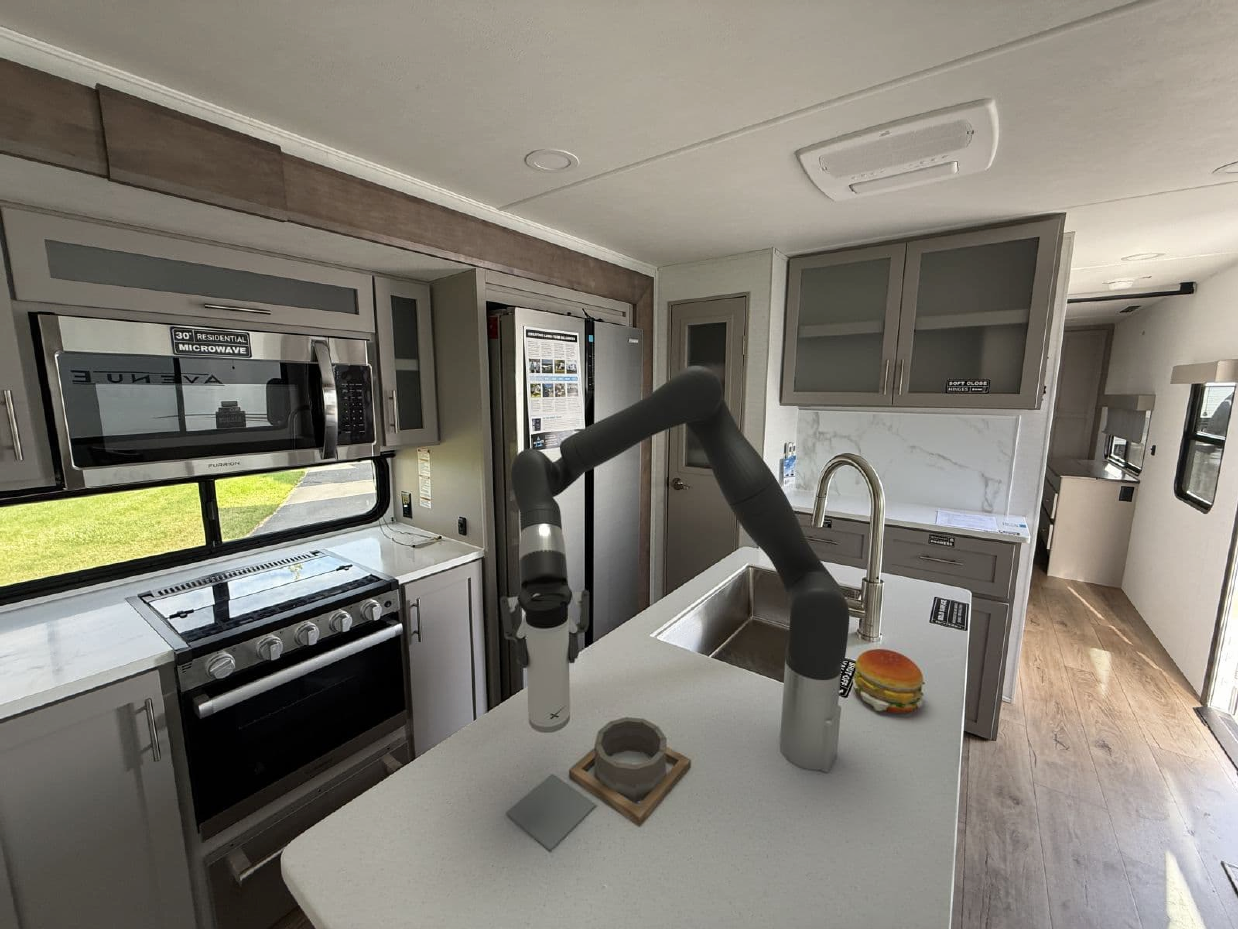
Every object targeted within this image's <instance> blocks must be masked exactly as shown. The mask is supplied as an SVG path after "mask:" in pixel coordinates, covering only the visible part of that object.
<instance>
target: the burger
mask: <svg viewBox="0 0 1238 929" xmlns="http://www.w3.org/2000/svg"><path fill="white" fill-rule="evenodd" d="M853 669H855V671H854V675H853V677H852V687H853V688H854V690H856V692H857V694H858V695H859V697H860V698H861V699H862V700H863V701H864V702H866V703H867V704H869V705H870V706H872V707H873V708H874V710H875V711H876V712H877V711H878V712H882V711H884V712H889V713H893V714H905V713H911V712H912V711H913V710H915V709H917V708H921V707H923V703H924V701H923V696H925V694H924V693H923V692H922V688H923V685H926V683H925V681H924V676H923V673H922V671H921V669H920V668H919V666H918V665H917V664H916V663H915V662H914V661H913V660H912V659H910V658H909V657H908V656H906V655H904V654H902V653H900V652H897V651H895V650H890V649H886V648H885V649H884V648H874V649H870V650H869V649H868V650H866V651H864V652H862V653H861V654H860V655H858V657H857V659H856V661H855V664H853Z"/></svg>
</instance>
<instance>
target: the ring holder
mask: <svg viewBox="0 0 1238 929" xmlns="http://www.w3.org/2000/svg"><path fill="white" fill-rule="evenodd" d="M667 744H668V743H667V737H666V735H665V734H664V732H663V731H662V730H661V728H660V727H659V726H658V725H656V724H654V723H653V722H651V721H648V720H647V719H645V718H638V717H629V716H625V717H622V718H621V717H620V718H618V719H613V720H610V721H609V722H607V723H606V724H605V725H604V726H602V727H601V728H600V729H599V730H598V731H597V733H596V738H595V742H594V747H593V748H592V749H591V750H590V751H589V752H588V753H586V754H585V755H584V756H583V757H581V759H579V760H578V761H577V762H576V763H575V764H573V765H572V766H571V767H570V768H569V769H568V778H569V779H571V780H572V781H573V782H575V783H576V784H578V785H580V786H581V787H583V789H585V790H587V791H588V792H589V793H591V794H593V795H594V796H596V797H597V798H598V799H600V800H601V801H603V802H605V803H606V804H607V805H609V807H611V808H613V809H615V810H616V811H617V812H619V813H620V814H622V815H623V816H625V817H626V818H627V819H629V820H631V821H632V822H634V824H636V825H637V826H640V827H641V825H642V824H643V823H644V822H645V820H647V818H648V817H649V816H650V815H651V814H652V813H653V812H654V810H655V809H656V808H657V807H658V806H659V804H661V802H662V801H663V800H664V799H665V798H666V796H667V795H668V794H669V793H670V792H671V791H672V789H673V788H674V787H675V786H676V785H677V783H679V781H681V779H682V778H683V777H684V775H685V774H686V773H687V772H688V771H689V770H690V769H691V766H692V765H691V764H692V760H691V758H689V757H687V756H685V755H684V754H682V753H680V752H678V751H676V750H674V749H672V748H670V747H669V746H667ZM626 751H631V752H639V753H642V754H644V755H646V756H647V757H649V758H651V759H649V760H645V761H641V762H638V763H626V762H619V761H617V760H616V759H614V758H612V756H613V755H615V754H618V753H622V752H626ZM667 763H669V764H671V765H672V768H670V770H668V772H667V771H666V770H667ZM592 767H594V776H593V775H592V774H591V773H589V772H588V771H589V770H590V769H592ZM666 772H667V773H666ZM640 801H641V802H640ZM638 802H640V803H639V804H636V803H638Z"/></svg>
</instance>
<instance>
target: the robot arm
mask: <svg viewBox="0 0 1238 929" xmlns="http://www.w3.org/2000/svg"><path fill="white" fill-rule="evenodd" d="M723 391H724V390H723V385H722V382H721V380H720V378H719V376H718V375H717V374H716V373H715V372H714V371H713V370H711V369H710V368H707V367H705V366H702V365H690V366H686V367H684V368H683V367H682V369H680V370H679V371H677V372H676V373H675V374H674V375H673V376H672V377H671V378H670V379H668V381H666V382H665V383H663V384H662V385H661V386H659V387H658V388H657V389H655V390H654V391H653V392H651V393H650V394H649V395H647V396H645V397H643V398H642V399H640V400H639V401H637V402H635V403H632V405H629V406H628V407H626V408H624V409H622V410H620V411H618V412H616V413H614V414H611V415H609V416H607V417H605V418H603V419H601V420H599V421H597V422H594V423H592V424H590V425H588V426H586V427H585V428H583V429H581V430H578V431H577V432H575V433H573V434H571V435H569V436H568V437H566V438H564V439H563V440H562V441H561V443H560V445H559V452H560V457H558V459H557V460H554V461H553V460H551V459H550V457H548V456H547V455H546V454H545V453H544V452H542V451H541V450H539V449H538V448H525V449H523V450H521V451H520V452H518V453H517V455H516V456H515V457H514V459H513V461H512V463H511V467H510V480H511V486H512V490H513V493H514V497H515V501H516V505H517V507H518V510H519V531H520V532H519V533H520V534H519V536H520V537H519V544H518V545H519V548H518V549H519V550H518V553H519V556H518V560H519V582H520V584H519V586H520V587H519V588H520V590H519V592H518V594H517V596H512V597H508V596H506V595H503V596H501V597H500V600H499V603H500V609H501V610H500V612H501V617H502V618H501V619H502V625H503V626H502V627H503V633H504V634H503V635H504V638H505V639H506V640H512V641H515V643H516V660H517V663H518V665H522V669H527V645H526V622H525V620H526V604H527V602H528V601H530V600H531V598H533V597H534V596H537V595H540V594H543V593H549V592H559V593H563V594H565V595H567V596H568V597H570V602H571V601H572V600H573V601H574V602H575V605H576V606H577V607H578V608H579V622H578V623H577V624H576V622H574V620H573V619H572V617H571V614H570V611H568V622H569V664H575V662H576V659H578V657H579V653H580V649H579V648H580V647H579V638H578V637H579V635H580V634H582V633H586V632H587V631H588V628H589V626H590V592H589V590H587V589H584V590H582V591H572V589H571V588H570V586H569V578H568V569H567V568H568V566H567V556H566V555H567V553H566V545H565V539H564V535H563V526H562V514H561V508H560V505H559V503H558V502H557V500H555V498H556V497H557V496H559V495H560V494H562V493H563V492H564V491H565V490H566V489H568V488H569V487H570V486H571V485H573V484H574V483H575V482H576V481H577V480H578V479H580V477H581V476H582V475H584V473H586V472H588V471H590V470H592V469H594V468H597V467H599V466H600V465H604V463H606V462H608V461H610V460H613V459H614V458H616V457H617V456H620V455H621V454H623V453H625V452H626V451H628V450H629V449H631V448H633V447H635V446H636V445H637V444H638V445H639V443H642V442H644V441H646V440H647V439H648V438H651V437H653V436H655V435H657V434H659V433H662V432H664V431H666V430H669V429H672V428H675V427H678V426H682V425H686V427H687V428H688V429H689V431H690V432H691V433H692V435H693V436H694V438H695V439H696V441H697V442H698V443H699V446H700V447H701V448H702V450H703V452H704V454H705V456H706V458H707V461H708V464H709V465H710V468H711V471H712V473H713V475H714V478H715V480H716V483H717V484H718V487H719V489H720V491H721V493H722V496H723V497H724V499H725V500H726V502H727V504H728V506H729V508H730V510H731V511H732V513H733V515H734V516H735V518H736V520H737V521H738V523H739V524H740V526H741V527H742V529H743V531H744V532H746V534H747V535H748V536H749V537H750V538H751V540H753V542H754V543H755V544H756V545H757V546H758V547H759V548H760V549H761V551H763V552H764V553H765V555H766V556H767V558H769V560H770V561H771V564H772V565H773V567H774V570H775V571H776V572H777V575H778V577H779V578H780V581H781V583H782V585H783V588H784V590H785V593H786V594H787V599H788V604H789V610H790V611H789V630H788V643H787V645H786V647H785V661H784V662H785V663H784V676H783V688H782V689H783V692H782V702H781V703H782V704H781V722H780V732H779V738H780V740H779V749H780V751H781V753H782V754H783V756H784V757H785V758H786V759H787V760H788V761H789V762H791V763H792V764H794V765H795V766H798V767H800V768H803V769H806V770H815V771H822V772H824V773H828V772H829V769H830V768H831V766H832V764H833V762H834V760H835V758H836V757H837V754H838V748H839V747H838V745H839V738H840V737H839V736H840V735H839V734H840V726H841V722H840V721H841V715H842V714H841V713H842V707H841V705H839V699H840V698H839V697H840V688H841V687H840V686H841V676H842V668H843V664H844V662H845V659H846V655H847V648H848V647H847V645H848V638H849V629H850V608H849V605H848V601H847V599H846V597H845V594H844V592H843V590H842V587H841V586H840V584H839V583H838V582H837V580H836V579H835V578H834V577H833V575H832V574H831V572H829V570H828V569H827V568H826V566H825V565H824V564H823V562H822V561H821V559H820V558H819V556H818V555H817V553H815V551H814V550H813V548H812V547H811V545H810V543H809V542H808V540H807V538H806V536H805V534H804V532H803V529H802V527H801V524H800V522H799V520H798V517H797V515H796V512H795V511H794V508H793V507H792V505H791V503H790V501H789V499H788V497H787V495H786V493H785V492H784V490H783V489H782V487H781V485H780V483H779V480H777V478H776V476H775V475H774V473H773V472H772V470H771V469H770V467H769V466H768V465H767V463H766V462H765V460H764V459H763V458H762V456H761V455H760V454H759V452H758V451H757V449H755V447H754V446H753V444H751V443H750V441H749V440H748V438H746V437H745V435H744V434H743V432H742V431H741V430H740V428H739V426H738V425H737V423H736V420H735V419H734V417H733V415H732V413H731V411H730V409H729V406H728V405H727V403H726V400H725V398H724V395H723ZM517 605H519V607H521V609H522V610H523V612H525V614H524V616H523V618H522V620H521V623H520V625H519V627H518V629H515V628H513V625H512V618H511V614H512V613H513V612H514V611H515V609H516V608H515V607H516V606H517Z"/></svg>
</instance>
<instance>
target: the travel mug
mask: <svg viewBox="0 0 1238 929" xmlns="http://www.w3.org/2000/svg"><path fill="white" fill-rule="evenodd" d="M570 604H571V601H570V597H568V596H567V595H565V594H563V593H559V592H549V593H543V594H540V595H537V596H534V597H533V598H531V600H530V601H528V602H527V604H526V620H525V622H526V638H525V639H526V645H527V668H526V677H527V679H526V684H527V708H528V710H527V712H528V714H527V715H528V725H530V727H531V728H532V729H533V730H535V731H536V732H538V733H544V734H548V733H549V734H551V733H555V732H558V731H561V730H562V729H564V728H565V727H566V726H567V725H568V724H569V722H570V719H571V699H570V697H571V696H570V695H571V694H570V685H571V684H570V663H569V622H568V612H569V605H570Z"/></svg>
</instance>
